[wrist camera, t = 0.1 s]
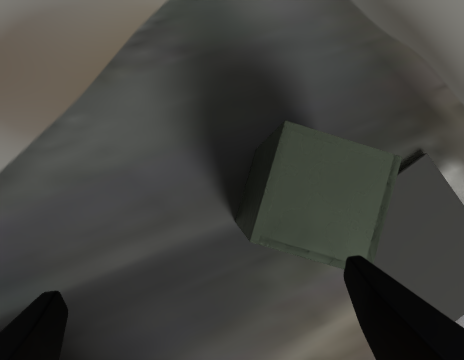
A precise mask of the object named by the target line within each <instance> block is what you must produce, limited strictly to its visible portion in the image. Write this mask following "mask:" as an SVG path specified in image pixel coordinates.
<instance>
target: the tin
mask: <svg viewBox="0 0 464 360" xmlns="http://www.w3.org/2000/svg"><path fill="white" fill-rule="evenodd" d="M401 160H402V157H401V156H397V155H394V154H391V153H388V152H385V151H381V150H378V149H375V148H372V147H369V146H365V145H362V144H359V143H356V142H353V141H349V140H346V139H343V138H340V137H337V136H333V135H330V134H327V133H324V132H321V131H317V130H314V129H311V128H308V127H305V126H301V125H298V124H295V123H292V122H289V121H286V120H285V121H284V122H283V123H282V124H281V125H280V126H279V127H278V128H277V129H276V130H275V131H274V132H273V133H272V134H271V135H270V136H269V137H268V138H267V139H266V140H265V141H264V142H263V143H262V144H261V145H260V146H259V147H258V148H257V149H256V152H255V156H254V159H253V162H252V166H251V169H250V173H249V176H248V179H247V183H246V186H245V190H244V193H243V196H242V200H241V203H240V206H239V210H238V213H237V217H236V220H235V222H236V224H237V225H238V227H239V228H240V229H241V231H242V232H243V233H244V235H245V236H246V237H247V239H248V240H249V241H250V242H252V243H256V244H259V245H262V246H266V247H269V248H273V249H276V250H280V251H283V252H286V253H290V254H293V255H297V256H300V257H303V258H307V259H310V260H314V261H317V262H321V263H324V264H327V265H331V266H334V267H338V268H341V269H345V264H346V259H347V257H349V256H355V255H360V256H362V257H364V258H365V259H367V260H368V261H370V262H371V263H372V264H373V263H374V260H375V256H376V252H377V249H378V245H379V241H380V237H381V234H382V230H383V226H384V223H385V219H386V215H387V211H388V208H389V204H390V200H391V197H392V193H393V189H394V186H395V182H396V178H397V174H398V171H399V167H400V163H401Z"/></svg>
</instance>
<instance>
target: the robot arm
mask: <svg viewBox="0 0 464 360" xmlns="http://www.w3.org/2000/svg"><path fill="white" fill-rule="evenodd" d="M344 281H345V284H346V287H347V290H348V293H349V295H350V298H351V301H352V304H353V307H354V310H355V313H356V316H357V318H358V321H359V324H360V326H361V329H362V331H363V333H364V335H365V338H366V340H367V342H368V344H369V346H370V348H371V350H372V352H373V354H374V357H375V359H376V360H464V328H463V327H462V326H460V325H459V324H457V323H456V322H455V321H453V320H452V319H450V318H449V317H447V316H446V315H445V314H443V313H442V312H440V311H439V310H438V309H436V308H435V307H433V306H432V305H430V304H429V303H428V302H426V301H425V300H423V299H422V298H421V297H419V296H418V295H416V294H415V293H413V292H412V291H411V290H409V289H408V288H406V287H405V286H404V285H402V284H401V283H399V282H398V281H397V280H395V279H394V278H392V277H391V276H389V275H388V274H387V273H385V272H384V271H382V270H381V269H380V268H378V267H377V266H375V265H374V264H372V263H371V262H370V261H368V260H367V259H365V258H364V257H362V256H360V255H355V256H349V257H347V259H346V264H345V270H344ZM67 317H68V308H67V306H66V304H65V302H64V300H63V298H62V296H61V294H60V292H59V291H49V292H44V293H42V294H41V295H40V296H39V297H38V298H36V299H35V300H34V301H33V302H32V303H31V304H30V305H29V306H28V307H27V308H26V309H25V310H24V311H22V312H21V313H20V314H19V315H18V316H17V317H16V318H15V319H14V320H13V321H12V322H11V323H10V324H8V325H7V326H6V327H5V328H4V329H3V330H2V331H1V332H0V360H59V357H60V352H61V347H62V342H63V337H64V332H65V327H66V322H67Z"/></svg>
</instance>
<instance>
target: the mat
mask: <svg viewBox="0 0 464 360" xmlns="http://www.w3.org/2000/svg"><path fill="white" fill-rule="evenodd" d="M373 264H374V265H375V266H377V267H378V268H380V269H381V270H382V271H384V272H385V273H387V274H388V275H389V276H391V277H392V278H394V279H395V280H397V281H398V282H399V283H401V284H402V285H404V286H405V287H406V288H408V289H409V290H411V291H412V292H413V293H415V294H416V295H418V296H419V297H421V298H422V299H423V300H425V301H426V302H428V303H429V304H430V305H432V306H433V307H435V308H436V309H438V310H439V311H440V312H442V313H443V314H445V315H446V316H447V317H449V318H450V319H452V320H453V321H456V320H458V319H459V318H460V317H461V316H463V315H464V205H463V204H462V202H461V201H460V199H459V198H458V196H457V195H456V194H455V192H454V191H453V189H452V188H451V187H450V185H449V184H448V182H447V181H446V179H445V178H444V177H443V175H442V174H441V172H440V171H439V170H438V168H437V167H436V165H435V164H434V162H433V161H432V160H431V158H430V157H429V155H428V154H423V155H421V156H420V157H419V158H417V159H416V160H415V161H413V162H412V163H411V164H409V165H408V166H406V167H405V168H404V169H402V170H401V171H400V172H398V174H397V178H396V182H395V186H394V189H393V193H392V197H391V200H390V204H389V208H388V211H387V215H386V219H385V223H384V226H383V230H382V234H381V237H380V241H379V245H378V249H377V252H376V256H375V260H374V263H373Z"/></svg>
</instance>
